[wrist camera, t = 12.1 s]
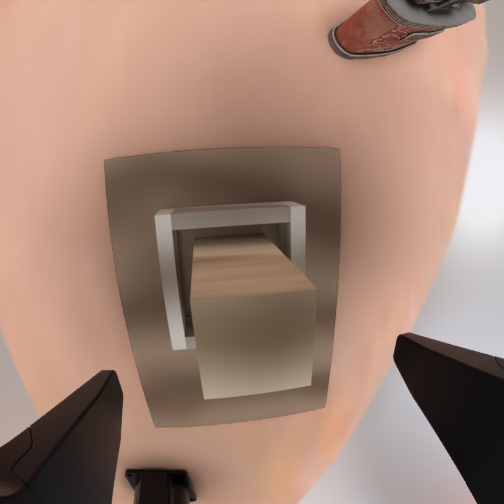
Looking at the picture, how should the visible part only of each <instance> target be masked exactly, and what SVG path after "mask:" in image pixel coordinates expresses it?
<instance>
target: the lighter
mask: <svg viewBox="0 0 504 504" xmlns="http://www.w3.org/2000/svg"><path fill="white" fill-rule="evenodd" d="M486 1H489V0H370V1H369V2H368V3H366V4H365V5H364V6H363V7H362V8H360V9H359V10H358V11H357V12H356V13H354V14H353V15H352V16H351V17H350V18H349V19H347V20H346V21H344V22H342V23H340V24H338V25H336V26H335V27H334V28H333V29H332V30H331V31H330V32H329V35H328V41H329V44H330V47H331V48H332V49H333V51H334V52H335V53H336V54H337V55H338V56H340V57H342V58H344V59H348V60H353V59H371V58H377V57H384V56H387V55H390V54H393V53H396V52H399V51H401V50H403V49H405V48H407V47H409V46H411V45H413V44H415V43H416V42H417V41H418V40H420V39H424V38H428V37H432V36H434V35H436V34H439V33H441V32H443V31H444V29H446V28H451V27H456V26H459V25H462V24H464V23H467V22H469V21H471V20H473V19H475V18H476V11H475V8H474V6H473V4H481V3H484V2H486ZM472 3H473V4H472Z"/></svg>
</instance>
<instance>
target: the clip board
mask: <svg viewBox="0 0 504 504" xmlns="http://www.w3.org/2000/svg"><path fill="white" fill-rule="evenodd" d="M104 167H105V183H106V196H107V207H108V217H109V226H110V234H111V242H112V249H113V256H114V262H115V269H116V275H117V281H118V286H119V292H120V297H121V302H122V307H123V312H124V317H125V321H126V326H127V330H128V335H129V339H130V343H131V347H132V351H133V355H134V359H135V363H136V366H137V370H138V374H139V377H140V381H141V384H142V388H143V391H144V394H145V398H146V401H147V404H148V407H149V410H150V413H151V416H152V419H153V422H154V425H155V428H168V427H191V426H206V425H218V424H229V423H238V422H246V421H254V420H261V419H267V418H274V417H280V416H286V415H291V414H297V413H302V412H307V411H312V410H316V409H321V408H325V405H326V398H327V391H328V383H329V375H330V367H331V358H332V349H333V339H334V329H335V317H336V305H337V290H338V273H339V252H340V214H341V172H340V149H339V148H308V147H256V148H225V149H206V150H191V151H178V152H167V153H156V154H147V155H138V156H129V157H121V158H114V159H107V160H104ZM253 233H263V234H264V235H265V236H266V237H267V238H268V239H269V240H270V241H271V242H272V243H273V244H274V245H275V246H276V247H277V248H278V249H279V250H280V251H281V252H282V253H283V254H284V255H285V256H286V257H287V258H288V259H289V260H290V261H291V262H292V263H293V264H294V265H295V266H296V267H297V268H298V269H299V270H300V271H301V272H302V273H303V274H304V275H305V276H306V277H307V278H308V279H309V280H310V281H311V282H312V283H313V285H314V286H315V287H316V288H317V289H318V290H317V310H316V327H315V342H314V355H313V368H312V379H311V385H310V386H305V387H299V388H294V389H288V390H281V391H275V392H268V393H261V394H253V395H245V396H237V397H227V398H217V399H204V396H203V389H202V383H201V377H200V370H199V364H198V357H197V350H196V343H195V335H194V328H193V320H192V312H191V303H190V295H191V278H192V262H193V249H194V238H196V237H209V236H223V235H238V234H253Z"/></svg>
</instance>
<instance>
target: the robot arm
mask: <svg viewBox="0 0 504 504" xmlns="http://www.w3.org/2000/svg"><path fill="white" fill-rule="evenodd" d="M393 358H394V362H395V364H396V366H397V368H398V370H399V372H400V374H401V376H402V378H403V379H404V381H405V383H406V385H407V387H408V389H409V391H410V393H411V394H412V396H413V398H414V400H415V401H416V402H417V404H418V406H419V407H420V409H421V410H422V412H423V414H424V415H425V417H426V418H427V420H428V421H429V423H430V424H431V426H432V427H433V429H434V431H435V432H436V434H437V436H438V437H439V439H440V441H441V442H442V444H443V445H444V447H445V449H446V450H447V452H448V454H449V455H450V457H451V459H452V460H453V462H454V464H455V465H456V467H457V469H458V470H459V472H460V474H461V476H462V477H463V479H464V481H465V482H466V484H467V486H468V488H469V490H470V492H471V493H472V495H473V497H474V499H475V501H476V502H477V504H504V359H503V358H499V357H495V356H494V357H493V356H491V355H488V354H484V353H480V352H477V351H473V350H469V349H466V348H462V347H458V346H454V345H451V344H447V343H444V342H441V341H437V340H434V339H430V338H427V337H423V336H420V335H416V334H413V333H404V334H400V335H399V336H398V337H397V340H396V345H395V350H394V355H393ZM122 408H123V392H122V389H121V386H120V383H119V380H118V376H117V374H116V372H115V371H114V370H102V371H100V372H99V373H98V374H96V375H95V376H94V377H92V378H91V379H90V380H89V381H87V382H86V383H85V384H83V385H82V386H81V387H80V388H78V389H77V390H76V391H74V392H73V393H72V394H71V395H69V396H68V397H67V398H65V399H64V400H63V401H62V402H60V403H59V404H58V405H56V406H55V407H54V408H52V409H51V410H50V411H49V412H47V413H46V414H45V415H43V416H42V417H41V418H40V419H38V420H37V421H36V422H34V423H33V424H32V425H31V426H30V427H28V428H27V429H25V430H24V431H23V432H21V433H20V434H19V435H17V436H16V437H15V438H13V439H12V440H11V441H10V442H8V443H6V444H5V445H3V446H1V447H0V504H112V495H113V487H114V480H115V473H116V466H117V460H118V453H119V447H120V440H121V425H122ZM125 476H126V477H127V479H128V481H129V482H130V484H131V486H132V487H133V489H134V490H135V493H134V504H190V502H194V501H196V500H197V498H196V495H195V492H194V489H193V487H192V484H191V481H190V478H189V476H188V473H187V472H186V471H138V470H126V471H125Z"/></svg>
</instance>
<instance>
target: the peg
mask: <svg viewBox="0 0 504 504" xmlns="http://www.w3.org/2000/svg"><path fill="white" fill-rule="evenodd" d="M317 290H318V289H317V288H316V287H315V286H314V285H313V283H312V282H311V281H310V280H309V279H308V278H307V277H306V276H305V275H304V274H303V273H302V272H301V271H300V270H299V269H298V268H297V267H296V266H295V265H294V264H293V263H292V262H291V261H290V260H289V259H288V258H287V257H286V256H285V255H284V254H283V253H282V252H281V251H280V250H279V249H278V248H277V247H276V246H275V245H274V244H273V243H272V242H271V241H270V240H269V239H268V238H267V237H266V236H265V235H264V234H263V233H253V234H238V235H223V236H209V237H196V238H194V249H193V262H192V278H191V295H190V303H191V312H192V320H193V328H194V335H195V343H196V350H197V357H198V364H199V370H200V377H201V383H202V389H203V396H204V399H217V398H227V397H237V396H245V395H253V394H261V393H268V392H275V391H281V390H288V389H294V388H299V387H305V386H310V385H311V379H312V368H313V355H314V342H315V327H316V310H317Z"/></svg>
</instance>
